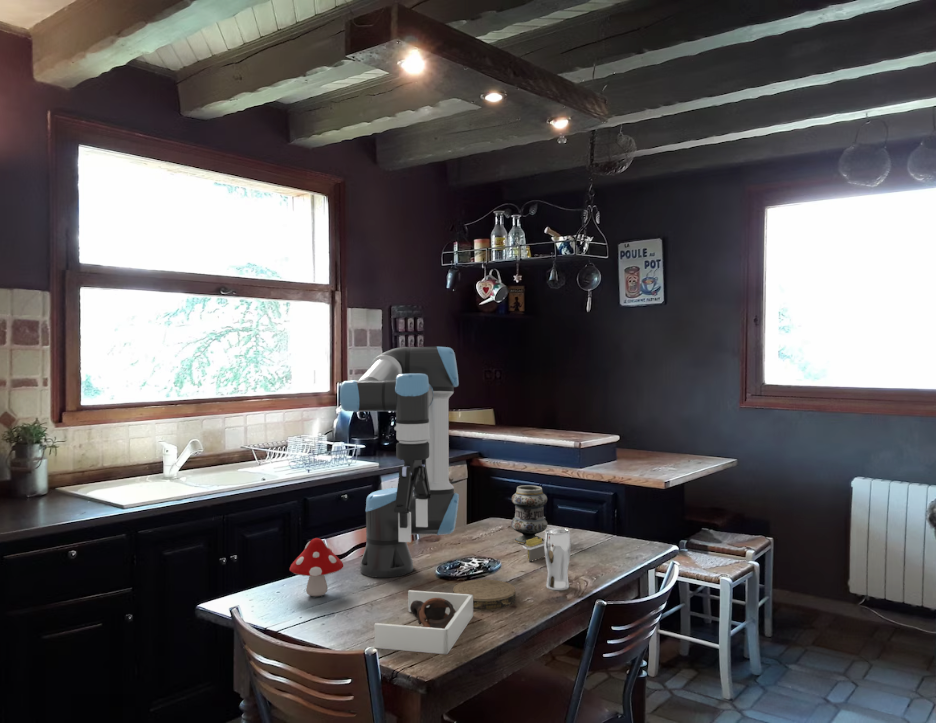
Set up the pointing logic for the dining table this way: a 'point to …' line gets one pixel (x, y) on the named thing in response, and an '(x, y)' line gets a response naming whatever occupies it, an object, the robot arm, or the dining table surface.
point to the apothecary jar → (529, 512)
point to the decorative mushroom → (316, 566)
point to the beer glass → (557, 557)
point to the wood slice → (487, 593)
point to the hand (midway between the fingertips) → (413, 534)
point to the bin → (426, 636)
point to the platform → (535, 548)
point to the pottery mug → (433, 612)
